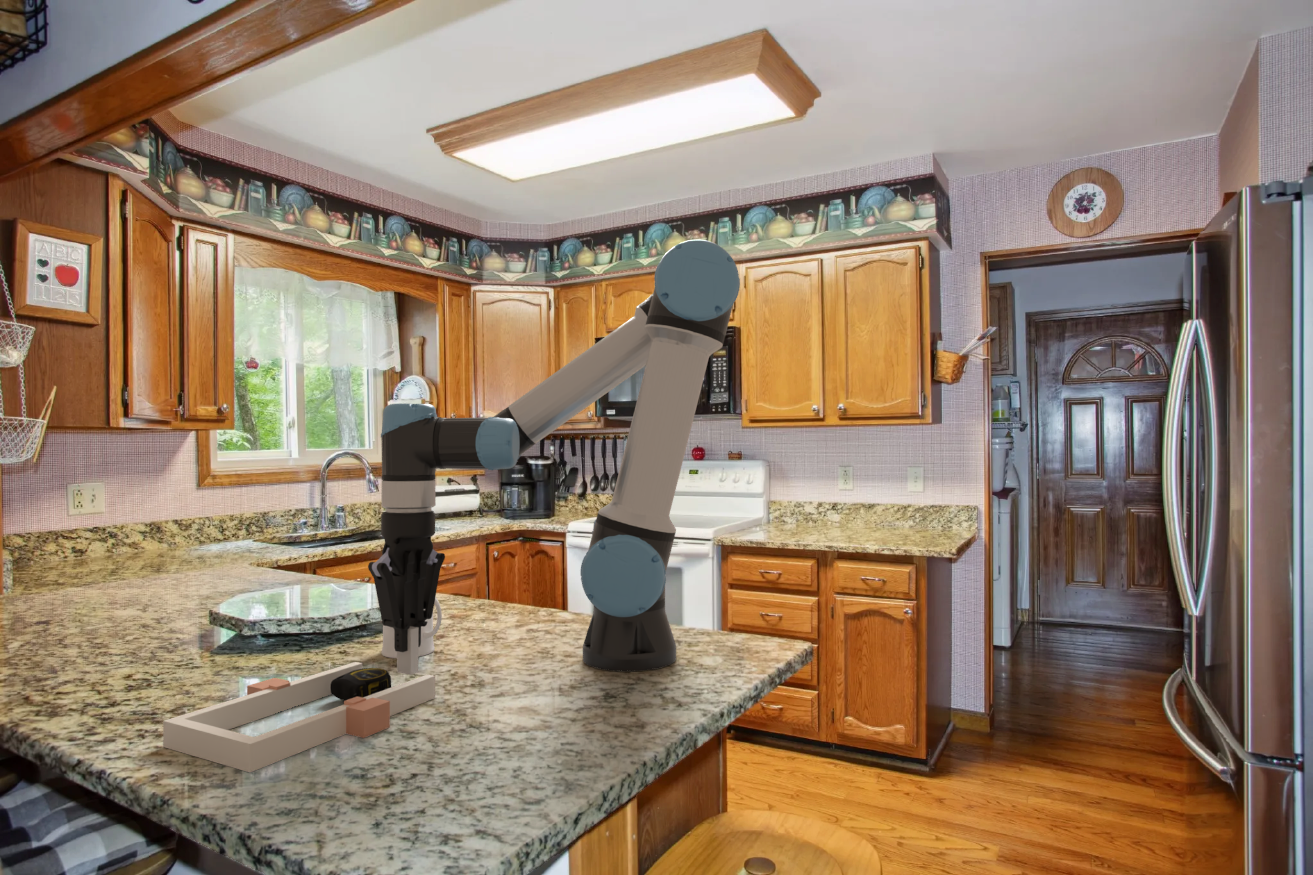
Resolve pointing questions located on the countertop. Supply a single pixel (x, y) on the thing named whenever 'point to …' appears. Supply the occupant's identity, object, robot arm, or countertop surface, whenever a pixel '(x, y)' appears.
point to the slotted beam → (356, 717)
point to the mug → (426, 636)
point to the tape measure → (360, 683)
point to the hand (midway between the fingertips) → (407, 671)
